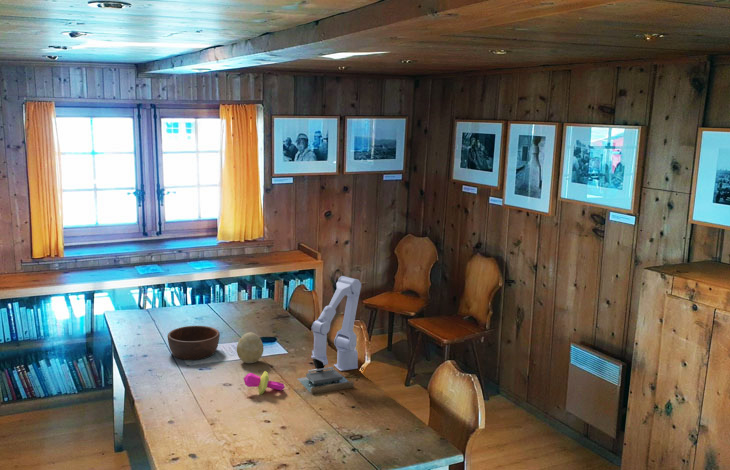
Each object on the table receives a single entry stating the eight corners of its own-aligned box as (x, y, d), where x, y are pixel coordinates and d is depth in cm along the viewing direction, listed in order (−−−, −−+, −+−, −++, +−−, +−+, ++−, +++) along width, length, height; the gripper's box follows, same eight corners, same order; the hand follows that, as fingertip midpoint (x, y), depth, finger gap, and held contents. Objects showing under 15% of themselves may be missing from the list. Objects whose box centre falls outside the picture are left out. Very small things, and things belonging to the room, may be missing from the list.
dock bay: (336, 373, 319) (336, 367, 318) (353, 388, 302) (353, 382, 302) (296, 379, 310) (296, 373, 309) (311, 395, 294) (311, 388, 293)
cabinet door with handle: (334, 375, 313) (334, 366, 312) (342, 382, 305) (342, 373, 305) (306, 379, 307) (306, 370, 306) (313, 386, 299) (313, 377, 298)
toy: (283, 399, 290) (289, 375, 293) (242, 390, 284) (248, 365, 288) (278, 399, 299) (283, 375, 302) (238, 390, 294) (244, 366, 297)
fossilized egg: (234, 359, 330) (234, 329, 327) (259, 356, 335) (259, 327, 332) (239, 368, 319) (240, 338, 316) (266, 365, 324) (266, 335, 321)
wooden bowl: (157, 357, 330) (156, 336, 328) (188, 341, 353) (188, 322, 351) (200, 366, 321) (199, 345, 319) (229, 349, 344) (229, 330, 342)
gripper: (306, 342, 314) (305, 369, 316) (317, 352, 301) (317, 381, 303) (320, 340, 317) (319, 367, 319) (332, 350, 304) (331, 379, 306)
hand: (319, 374), depth 311 cm, fingers closed
